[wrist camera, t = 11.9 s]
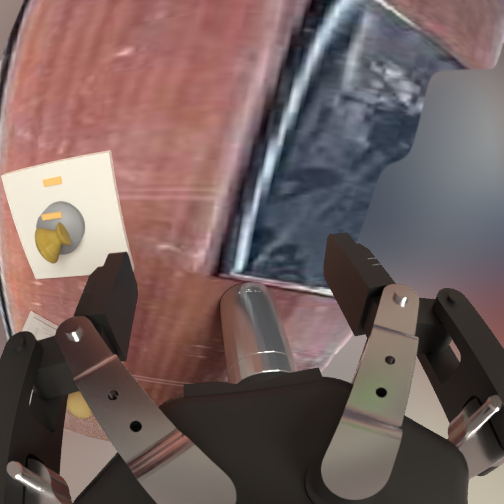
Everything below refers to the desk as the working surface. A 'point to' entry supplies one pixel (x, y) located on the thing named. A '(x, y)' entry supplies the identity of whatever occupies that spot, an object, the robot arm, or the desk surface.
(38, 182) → the hub plate
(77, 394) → the light bulb
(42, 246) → the knob
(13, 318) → the desk surface
